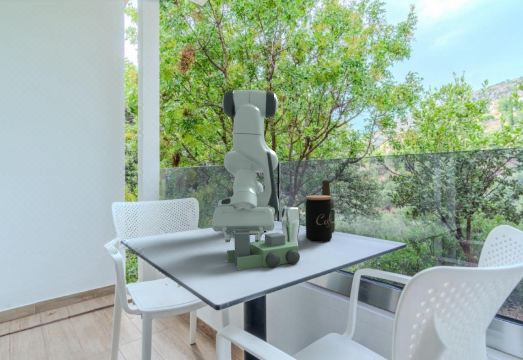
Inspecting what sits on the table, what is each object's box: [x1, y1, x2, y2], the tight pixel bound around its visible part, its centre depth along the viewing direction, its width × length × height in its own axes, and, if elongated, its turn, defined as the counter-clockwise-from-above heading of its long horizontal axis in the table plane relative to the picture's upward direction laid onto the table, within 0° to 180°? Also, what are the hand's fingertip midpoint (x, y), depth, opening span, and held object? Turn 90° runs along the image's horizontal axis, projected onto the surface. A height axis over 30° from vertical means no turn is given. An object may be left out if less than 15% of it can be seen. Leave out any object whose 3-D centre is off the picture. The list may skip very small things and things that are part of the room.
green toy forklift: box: [226, 232, 301, 271], centre depth 101 cm, size 16×20×8 cm
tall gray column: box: [233, 231, 251, 267], centre depth 98 cm, size 4×4×10 cm
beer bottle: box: [321, 179, 336, 233], centre depth 146 cm, size 8×8×24 cm
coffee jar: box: [305, 194, 333, 243], centre depth 130 cm, size 11×11×18 cm
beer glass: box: [280, 206, 301, 249], centre depth 117 cm, size 7×7×15 cm
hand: (242, 241), depth 97 cm, fingers open, 8 cm apart
